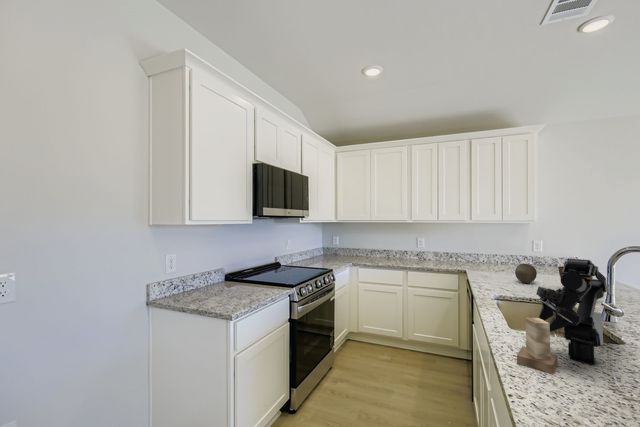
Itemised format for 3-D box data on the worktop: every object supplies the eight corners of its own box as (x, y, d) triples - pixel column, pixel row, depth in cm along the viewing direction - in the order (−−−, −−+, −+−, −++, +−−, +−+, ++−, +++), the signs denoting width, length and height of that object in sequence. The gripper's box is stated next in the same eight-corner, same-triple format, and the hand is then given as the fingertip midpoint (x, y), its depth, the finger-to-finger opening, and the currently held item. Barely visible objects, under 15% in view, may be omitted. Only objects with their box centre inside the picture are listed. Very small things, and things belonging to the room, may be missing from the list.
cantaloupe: (511, 281, 234) (511, 262, 234) (530, 281, 232) (530, 262, 232) (521, 285, 220) (520, 265, 220) (541, 285, 218) (541, 265, 218)
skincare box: (603, 342, 118) (602, 312, 119) (603, 346, 115) (602, 315, 115) (582, 338, 123) (581, 309, 123) (582, 341, 119) (581, 311, 120)
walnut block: (557, 364, 102) (557, 354, 102) (553, 376, 95) (553, 365, 95) (522, 355, 109) (522, 346, 109) (517, 365, 102) (516, 355, 102)
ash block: (539, 351, 104) (538, 317, 104) (550, 359, 99) (549, 323, 99) (526, 351, 104) (525, 317, 105) (536, 358, 99) (535, 323, 99)
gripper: (540, 273, 114) (514, 304, 117) (560, 284, 97) (529, 320, 100) (569, 291, 111) (542, 322, 114) (595, 306, 94) (562, 342, 97)
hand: (543, 326), depth 106 cm, fingers open, 9 cm apart
